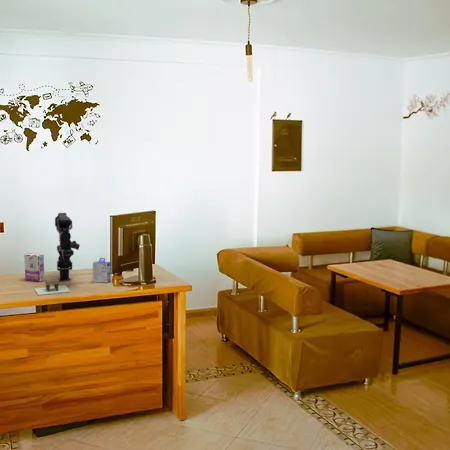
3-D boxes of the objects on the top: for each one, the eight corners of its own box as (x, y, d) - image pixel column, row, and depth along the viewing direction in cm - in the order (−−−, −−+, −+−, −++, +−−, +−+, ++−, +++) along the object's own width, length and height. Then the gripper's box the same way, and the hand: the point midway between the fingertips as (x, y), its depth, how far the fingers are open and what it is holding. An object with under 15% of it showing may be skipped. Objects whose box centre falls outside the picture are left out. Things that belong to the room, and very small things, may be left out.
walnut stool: (45, 289, 343) (45, 279, 342) (56, 287, 346) (56, 277, 345) (47, 291, 338) (47, 281, 337) (59, 290, 340) (58, 280, 340)
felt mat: (34, 289, 344) (34, 288, 344) (65, 286, 352) (65, 285, 352) (38, 295, 332) (38, 294, 332) (70, 292, 340) (70, 291, 340)
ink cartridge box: (111, 280, 367) (110, 258, 365) (107, 283, 361) (107, 259, 359) (96, 279, 369) (95, 257, 366) (92, 282, 363) (92, 259, 361)
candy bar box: (44, 280, 365) (44, 254, 363) (39, 282, 361) (38, 256, 358) (30, 278, 370) (29, 252, 367) (24, 280, 365) (23, 254, 362)
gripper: (82, 240, 346) (82, 266, 349) (74, 234, 363) (75, 259, 365) (62, 241, 341) (63, 267, 344) (56, 236, 358) (57, 261, 360)
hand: (65, 263), depth 353 cm, fingers open, 9 cm apart
